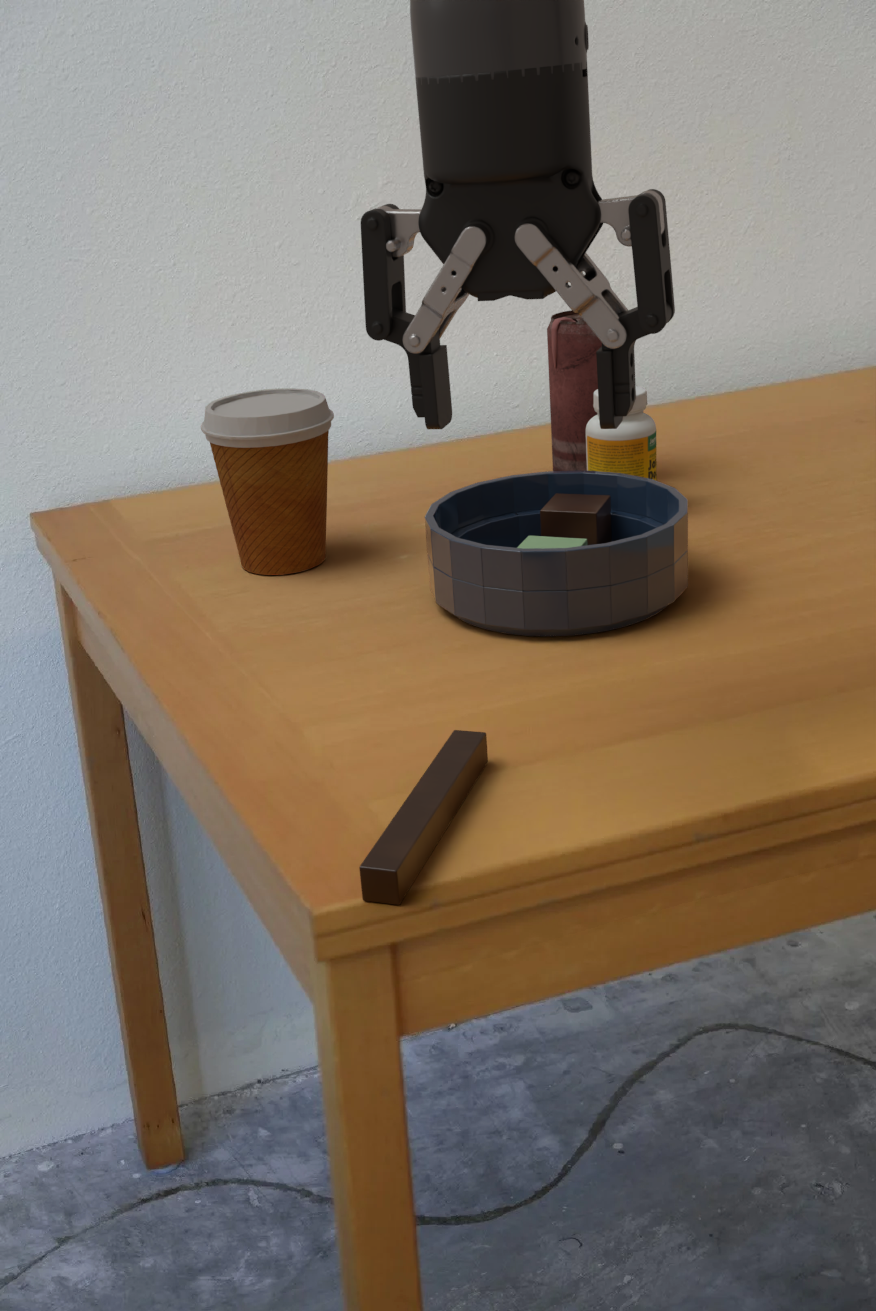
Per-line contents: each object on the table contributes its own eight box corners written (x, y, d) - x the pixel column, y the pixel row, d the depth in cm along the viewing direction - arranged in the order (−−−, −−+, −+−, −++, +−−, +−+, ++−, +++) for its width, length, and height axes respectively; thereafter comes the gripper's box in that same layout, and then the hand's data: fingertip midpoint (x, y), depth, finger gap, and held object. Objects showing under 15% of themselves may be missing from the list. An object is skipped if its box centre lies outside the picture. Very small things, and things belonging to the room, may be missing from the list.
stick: (486, 731, 77) (396, 871, 65) (488, 762, 78) (399, 905, 66) (453, 729, 78) (358, 866, 65) (456, 759, 78) (361, 901, 66)
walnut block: (612, 549, 105) (610, 495, 103) (598, 568, 101) (596, 512, 100) (557, 546, 106) (555, 493, 105) (542, 565, 103) (539, 510, 101)
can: (536, 487, 123) (528, 317, 117) (588, 469, 126) (583, 303, 121) (590, 499, 118) (584, 324, 113) (642, 480, 122) (639, 310, 117)
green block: (589, 596, 97) (587, 538, 95) (571, 618, 93) (569, 559, 92) (531, 592, 98) (528, 535, 96) (511, 614, 95) (508, 555, 93)
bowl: (741, 601, 96) (742, 513, 94) (510, 664, 89) (505, 570, 87) (598, 534, 110) (596, 456, 108) (390, 584, 104) (383, 502, 101)
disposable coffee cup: (326, 532, 115) (311, 380, 111) (363, 568, 107) (348, 405, 102) (207, 554, 113) (186, 399, 108) (235, 592, 104) (214, 426, 100)
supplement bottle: (585, 503, 118) (581, 384, 114) (653, 499, 117) (651, 379, 114) (590, 525, 113) (587, 401, 109) (661, 520, 112) (659, 396, 109)
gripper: (317, 79, 63) (358, 447, 70) (646, 50, 59) (658, 446, 65) (377, 70, 70) (409, 408, 76) (678, 44, 65) (686, 404, 72)
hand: (524, 425), depth 71 cm, fingers open, 8 cm apart
